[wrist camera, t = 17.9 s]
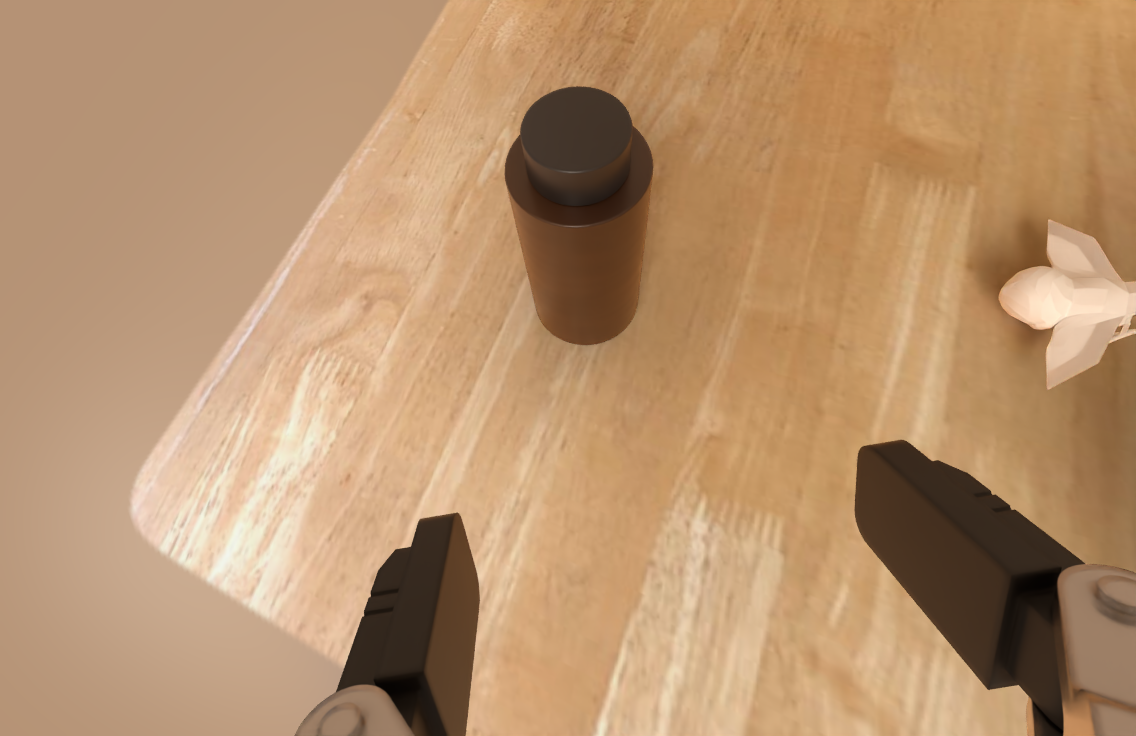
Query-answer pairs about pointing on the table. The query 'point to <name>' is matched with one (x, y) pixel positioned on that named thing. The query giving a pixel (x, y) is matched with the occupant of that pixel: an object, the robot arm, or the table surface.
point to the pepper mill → (581, 211)
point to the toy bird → (1072, 302)
